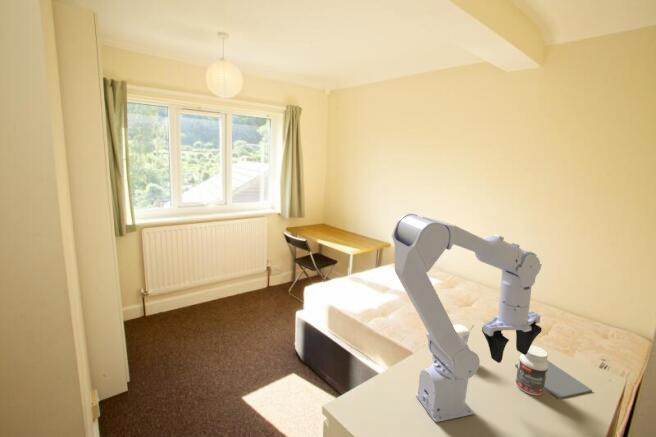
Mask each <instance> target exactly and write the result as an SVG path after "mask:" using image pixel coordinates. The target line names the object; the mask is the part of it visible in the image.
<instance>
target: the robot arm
mask: <svg viewBox="0 0 656 437" xmlns="http://www.w3.org/2000/svg"><path fill="white" fill-rule="evenodd" d="M391 237H392V240H393V244H394V272H395V274H396V277H397V278H398V280H399V281H400V283H401V285H402V287H403V288H404V291H405V293H406V294H407V296H408V297H409V299H410V302H411V303H412V305H413V307H414V308H415V310H416V313H417V314H418V316H419V318H420V320H421V321H422V324H423V325H424V327H425V329H426V331H427V332H426V333H425V335H426V338H427V341H428V344H427V346H428V349H429V352H430V353H431V354H432V357H431V358H432V362H433V363H432V364H431V365H429V367H427V368H424V369H422V370H421V371H420V373H419V378H418V379H419V380H418V391H417V392H416V393H415V397H416V398H417V399H418V401H419V402H420V404H421V405H422V406H423V408H424V409H425V410H426V411H427V413H428V414H429V416H430V417H431V418H432V420H433V421H434V423H435V422H436V423H439V422H444V421H447V420H448V421H449V420H451V419H457V418H462V417H466V416H471V415H474V410H473V409H472V408H471V407H470V406H469V405H468V404H467V402H466V399H467V390H468V382H469V379H470V378H472V377H473V376H474V375H475V374H476V373H477V372H478V370H479V367H480V364H481V362H480V357H479V355H478V354H477V353H476V352H474V351H473V350H471V349H470V348H469V345H468V343H467V344H466V343H465V341H464V340H463V339H462V338H461V337H460V336H459V334H458V333H457V332H456V330H455V328H454V325H453V322H452V320H451V318H450V316H449V315H448V313H447V311H446V309H445V307H444V305H443V303H442V301H441V299H440V297H439V295H438V293H437V291H436V289H435V286H434V285H433V284H432V281H431V279H430V277H429V276H428V274H427V273H428V272H430V271H431V269H432V268H433V266H434V265H435V264H436V263H437V261H438V260H439V259H440V257H441V256H442V255H443V253H444V252H445V250H448V251H449V250H451V249H452V247H453V246H457V247H460V248H463V249H465V250H468V251H470V252H474V254H475V257H476V258H477V260H478V261H479V262H481V263H485V264H486V265H489V266H492V267H494V268H497V269H499V270H501V278H500V289H499V301H498V302H499V303H498V314H497V315H496V316H495V317H493V318H492V319H490V320H489V321H487V322H486V323H483V326H482V327H481V332H482V334H483V335H484V338H485V339H486V342H487V344H488V347H489V352H490V353H489V354H490V358H491V359H492V360H493V361H495V362H496V363H498V364H499V363H502V360H503V357H504V352H505V349H506V346H507V344H508V343H509V341H510V339H509V338H507V337H505V336H504V334H503V333H502V332H503V331H515V335H516V336H515V338H516V339H515V345H516V348H515V349H516V351H517V352H519V353H521V355H522V354H524V355H526V354H527V353H528V350H529V348H530V346H531V345H533V342H534V341H535V339H536V338H537V337H538V336H539V334H541V333H542V327H541V326H540V325H538V324H540V322H541V314H539V313H537V312H535V311H530V305H531V294H532V286H534V285H535V283H536V279H537V276H538V274H539V273H540V272H541V271H540V270H541V269H542V263H541V261H540V258H539V257H537V254H536V253H534V252H532V251H529V250H527V249H524V248H520V244H518V243H515V242H511V243H509V242H508V241H505V240H504V239H505V237H504V236H501V235H498V234H494V235H484V236H483V237H481V236H478V235H476V234H474V233H472V232H470V231H468V230H465V229H464V228H461V227H459V226H457V225H454V224H452V223H448V222H445V221H441V220H438V219H435V218H434V219H433V218H429V217H425V216H422V217H421V216H419V215H417V214H414V213H405V214H404V215H402V216H401V217H400V218H399V219H398V220H397V222H396V224H395V227H394V229H393V231H392V233H391Z"/></svg>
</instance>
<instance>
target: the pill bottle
mask: <svg viewBox="0 0 656 437" xmlns="http://www.w3.org/2000/svg"><path fill="white" fill-rule="evenodd" d="M548 357H549V356H548V351H546V350H545V349H543V348H541V347H539V346H536V345H533V344H531V346H530V348H529V350H528V353H527V354H526V355H524V354H522V353H521V355H520V356H519V359H518V363H517V364H518V368H517V371H516V377H515V385H516V386H517V387H518V388H519V389H520V391H522V392H524V393H526V394H528V395H532V396H540V395H542V394H543V393H544V390H545V388H544V385H545V380H546V375H547V370H548V364H547V362H546V360H548Z"/></svg>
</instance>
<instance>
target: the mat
mask: <svg viewBox="0 0 656 437" xmlns="http://www.w3.org/2000/svg"><path fill="white" fill-rule="evenodd" d="M546 362H547V364H548V370H547V375H546V380H545V385H544V390H546V391H547V392H548V393H550V394H551V395H553V397H555V398H556V399H558V400H559V399H564V398H568V397H572V396H578V395H581V394H587V393H590V392H592V391H593V389H591V388H590V387H588V386H586V385H585V384H584V383H582V381H579V380H578V379H576V378H575V377H573V376H572V375H570V374H569V373H567V372H566V371H565V370H563V369H562V368H560V367H559V366H557V365H555V364H554V363H553V362H550V361H549V360H548V359H547V360H546ZM518 364H519V363H516V364H515V365H514V367H516V368H517V369H518Z"/></svg>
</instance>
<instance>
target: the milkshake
mask: <svg viewBox="0 0 656 437" xmlns="http://www.w3.org/2000/svg"><path fill="white" fill-rule="evenodd" d="M453 326H454V328H455V330H456V332H457V333H458V334H459V336H460V337H461V338H462V339H463V340H464V341H465V343H466V344H467V345H468V341H469V338H470V333H471V330H472V329H473V328H474V324H473V325H471V327H470V329H468V327H467V326H464V325H463V324H455V325H453Z"/></svg>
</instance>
